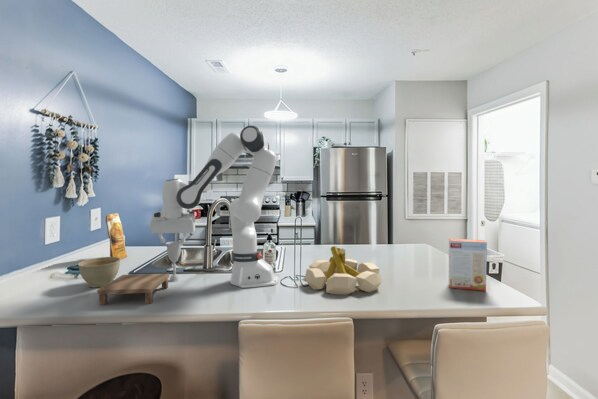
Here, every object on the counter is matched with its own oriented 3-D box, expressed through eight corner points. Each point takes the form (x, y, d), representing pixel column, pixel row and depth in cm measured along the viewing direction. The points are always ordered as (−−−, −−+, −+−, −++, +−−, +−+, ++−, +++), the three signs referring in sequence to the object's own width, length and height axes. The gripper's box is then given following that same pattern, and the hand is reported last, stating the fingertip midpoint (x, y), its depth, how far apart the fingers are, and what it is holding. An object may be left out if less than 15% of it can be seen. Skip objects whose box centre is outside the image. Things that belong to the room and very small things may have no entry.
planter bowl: (75, 284, 146) (74, 261, 145) (114, 277, 157) (113, 255, 157) (85, 293, 135) (83, 267, 134) (126, 284, 146) (125, 260, 146)
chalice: (176, 282, 148) (175, 244, 146) (163, 281, 149) (162, 243, 148) (185, 278, 155) (184, 241, 154) (172, 277, 156) (171, 240, 155)
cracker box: (483, 287, 139) (484, 239, 138) (486, 291, 133) (487, 242, 132) (447, 283, 143) (448, 237, 142) (449, 288, 138) (450, 240, 136)
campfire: (310, 271, 166) (310, 238, 165) (376, 273, 161) (377, 240, 160) (301, 295, 131) (301, 254, 130) (385, 298, 127) (386, 256, 126)
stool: (169, 286, 142) (169, 273, 142) (151, 304, 122) (150, 288, 122) (123, 288, 141) (122, 274, 140) (97, 305, 121) (96, 290, 120)
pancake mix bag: (102, 263, 184) (100, 215, 182) (119, 255, 203) (117, 211, 201) (115, 262, 185) (113, 214, 183) (130, 255, 204) (128, 211, 202)
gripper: (196, 212, 154) (197, 241, 154) (153, 212, 153) (154, 241, 153) (193, 214, 147) (193, 243, 148) (148, 213, 146) (148, 243, 147)
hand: (173, 242), depth 151 cm, fingers open, 8 cm apart
